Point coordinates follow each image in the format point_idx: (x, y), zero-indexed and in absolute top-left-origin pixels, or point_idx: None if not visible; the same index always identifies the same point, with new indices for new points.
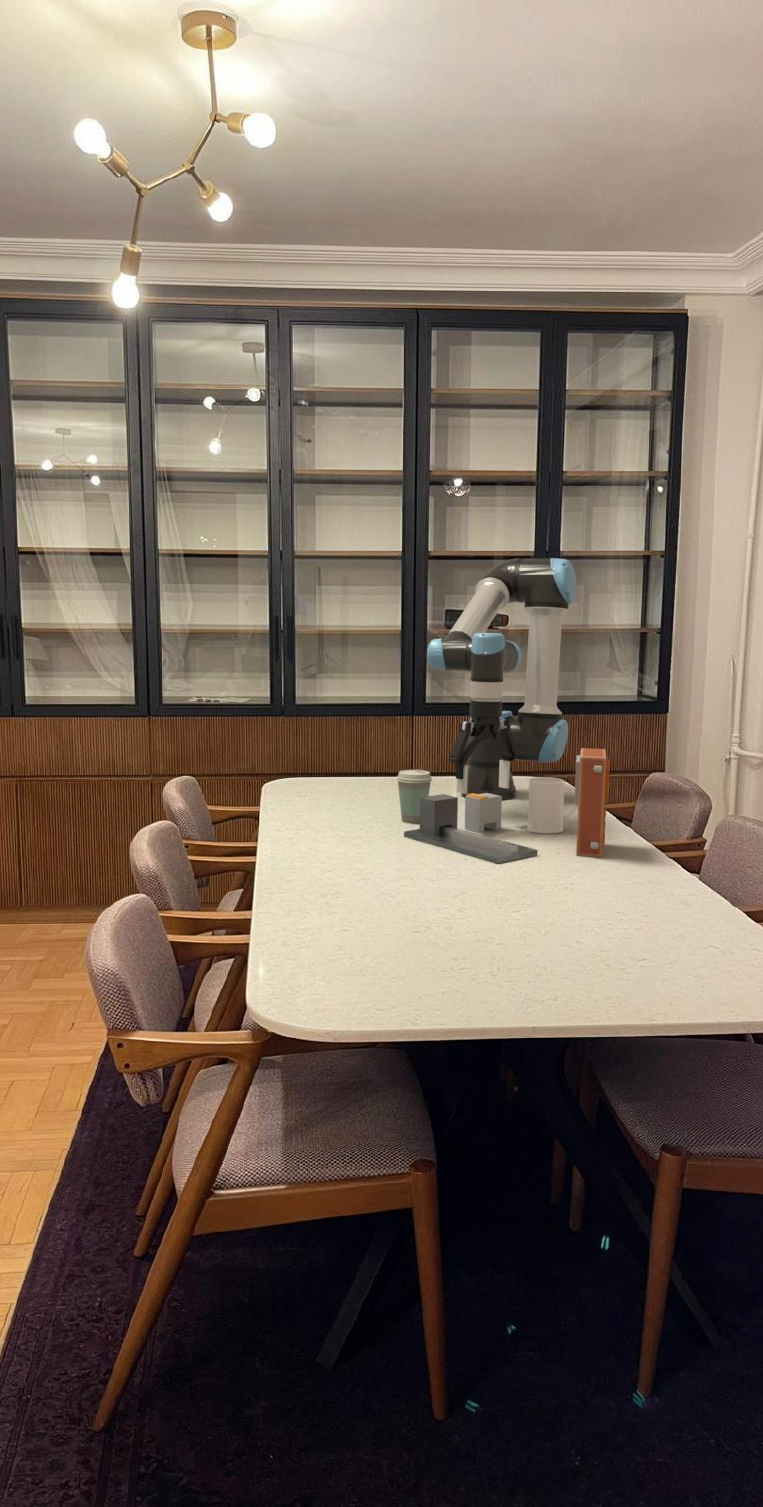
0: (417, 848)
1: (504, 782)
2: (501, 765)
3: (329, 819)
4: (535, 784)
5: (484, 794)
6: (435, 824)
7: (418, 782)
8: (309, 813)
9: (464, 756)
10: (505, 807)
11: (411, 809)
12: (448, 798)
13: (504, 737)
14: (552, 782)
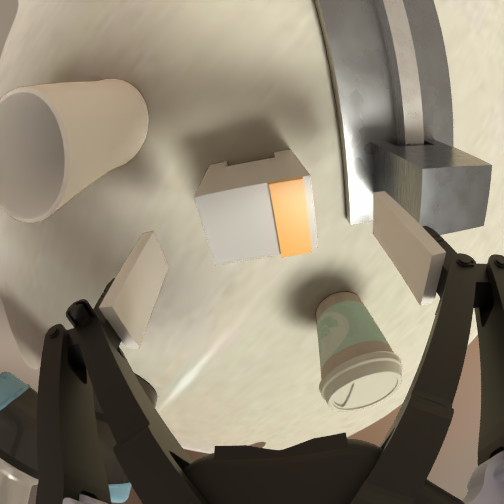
0: (474, 113)
1: (152, 254)
2: (140, 319)
3: (426, 342)
4: (70, 124)
5: (238, 247)
6: (448, 146)
7: (384, 353)
8: (414, 370)
9: (474, 290)
10: None
11: (368, 312)
12: (450, 173)
13: (86, 442)
14: (6, 189)
